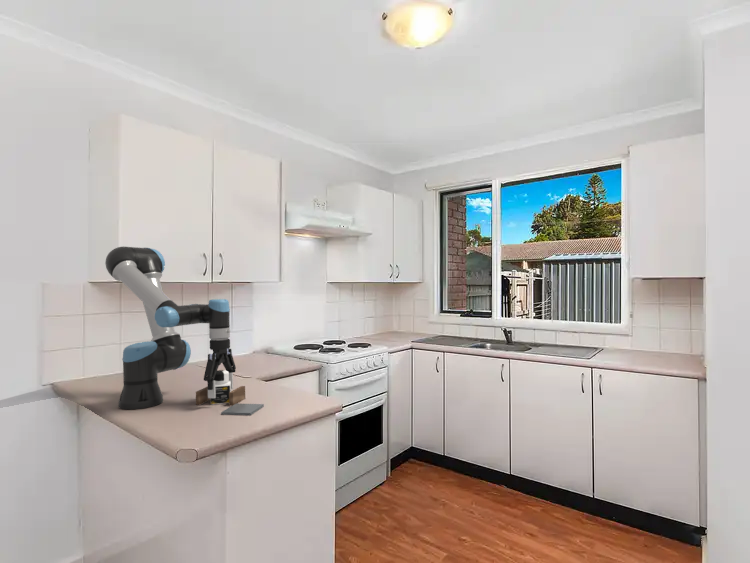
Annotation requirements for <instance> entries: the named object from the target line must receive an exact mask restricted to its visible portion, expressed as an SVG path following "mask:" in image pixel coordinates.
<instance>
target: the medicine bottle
mask: <svg viewBox="0 0 750 563" xmlns="http://www.w3.org/2000/svg"><path fill="white" fill-rule="evenodd" d="M214 380H215V391H216V398H211V400H210V405H212V406H213V405H224V404H229V392H231V391H232V389H231V381H229V372H228V371H226V369H221V370H217V372H216V375H215V378H214Z"/></svg>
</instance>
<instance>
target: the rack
mask: <svg viewBox="0 0 750 563" xmlns="http://www.w3.org/2000/svg"><path fill="white" fill-rule="evenodd" d="M244 400H246V386H245V385H241V386H238V387H237V388H235V389H232V390H231V392H229V403H228V406H229V407H231V406H233V405H234V404H236V403H238V404H240V402H243V401H244ZM208 401H211V398H208V385H207V386H205V387H204V388H201V389H199V390H197V391H195V405H196V406H201V405H203V404H205V403H206V402H208Z"/></svg>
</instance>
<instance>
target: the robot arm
mask: <svg viewBox="0 0 750 563" xmlns="http://www.w3.org/2000/svg"><path fill="white" fill-rule="evenodd" d="M165 262H166V261H165V258H164V256H163V255H162V253H161V252H160V251H159V250H157V249H155V248H150V247H136V246H135V247H134V246H118V247H115V248H113V249H111V250H110V252H108V254H107V256H106V258H105V263H104V264H105V269H106V271H107V272H108V274H109V275H110V276H111V277H112V278H113V279H114V280H116V281H117V282H118V281H119V282H121V283H122V284H124V286H126V287H127V288H128V289H129V290H130V291H131V292H132V293H133V294H134V295H135V296H136V297H137V298H138V299H139V300H141V301H142V304H143V308H144V312H145V314H146V318H147V322H148V325H149V329H150V332H151V335H152V336H151V337H152V338H151V340H149V341H142V342H136V343H132V344H129V345H127V346H126V347H124V349H123V351H122V358H121V360H122V370H123V371H122V373H123V374H122V375H123V376H122V377H123V378H122V379H123V386H122V390H121V394H120V396H119V399H118V408H119V409H120V410H121V409H122V410H139V409H146V408H152V407H155V406H157V405H160V404H162V403H163V401H164V396H163V393H162V391H161V387H160V384H159V383H158V374H160V373H164V372H167V371H172V370H173V371H174V370H175V371H176V370H178V369H180V368H183V367H184V366H186V364H188V362H189V361H190V357H191V355H192V354H191V346H190V344H189V342H187V341H186V340H185V339H182V337H181V334H180V333H178V332H177V331H175V327H180V326H181V327H182V326H188V325H196V324H197V325H198V324H208V326H209V327H208V328H209V329H208V330H209V331H208V332H209V333H208V335H209V349H210V350H211V351H212V353H208V354H207V362H206V366H205V371H204V374H203V381H204V382H207V386H208V398H216V391H215V380H214V378H215V375H216V372H217V371H218V369H219V367H220V365H221V364H222V366H223V367H224V370H226V371H228V372H229V381H231V390H234V373H236V368H237V367H236V364H235V360H234V358H233V352H232V348H231V339H230V337H231V329H230V328H231V327H230V312H231V309H230V301H229V300H228V299H226V298H219V299H218V298H215V299H209V300H208V304H205V303H204V304H202V303H201V304H198V303H192V304H186V305H178V304H177V303H176V302H174V301H173V300H172V299H171V298H170V297H168V295H167V294H165V292H164V291H163V287H162V283H161V278H162V277H163V272H164V271H165V266H166V263H165Z"/></svg>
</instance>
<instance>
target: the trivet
mask: <svg viewBox="0 0 750 563" xmlns="http://www.w3.org/2000/svg"><path fill="white" fill-rule="evenodd" d="M264 406H265V404H264V403H236V404H234V405H233V406H229V407H228V408H226V409H224V410H222V411H221V412H220V414H221V416H222V415H223V416H224V415H226V416H252V415H254V413H257V412H258V411H259V410H261V409H262V408H264Z"/></svg>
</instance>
